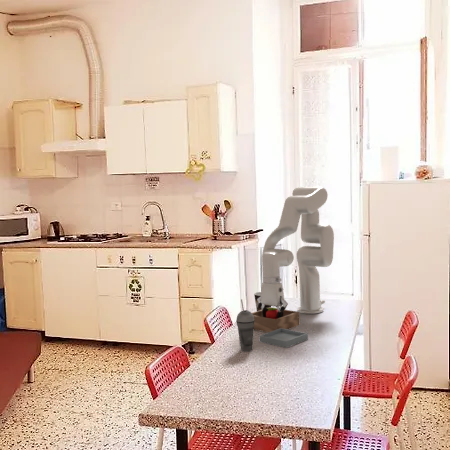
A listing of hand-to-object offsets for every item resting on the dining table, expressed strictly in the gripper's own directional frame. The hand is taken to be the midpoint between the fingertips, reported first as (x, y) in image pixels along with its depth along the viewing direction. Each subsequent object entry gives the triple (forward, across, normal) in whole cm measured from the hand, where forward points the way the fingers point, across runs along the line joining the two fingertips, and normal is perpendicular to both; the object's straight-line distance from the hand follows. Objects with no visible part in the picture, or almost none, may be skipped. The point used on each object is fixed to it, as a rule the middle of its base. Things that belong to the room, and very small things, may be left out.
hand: (272, 318), depth 263 cm
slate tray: (+3, -17, +14) cm, 22 cm away
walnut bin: (+3, 0, 0) cm, 3 cm away
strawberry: (+4, 0, 0) cm, 4 cm away
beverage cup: (+4, -13, +32) cm, 35 cm away
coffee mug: (+4, +19, -16) cm, 25 cm away
